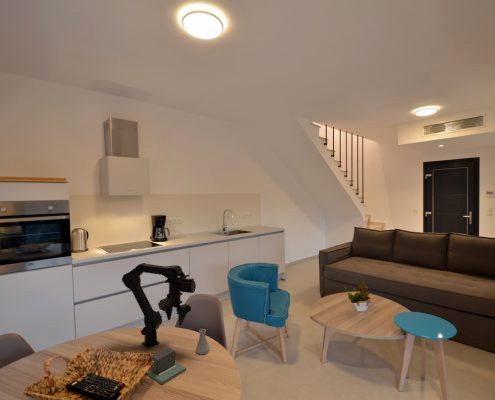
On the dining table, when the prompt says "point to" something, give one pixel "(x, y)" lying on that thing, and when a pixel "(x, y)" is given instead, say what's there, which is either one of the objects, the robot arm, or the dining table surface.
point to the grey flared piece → (202, 343)
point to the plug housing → (163, 360)
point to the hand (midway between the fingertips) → (174, 322)
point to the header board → (167, 373)
